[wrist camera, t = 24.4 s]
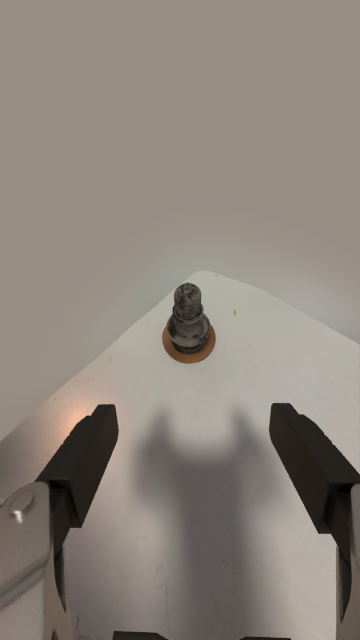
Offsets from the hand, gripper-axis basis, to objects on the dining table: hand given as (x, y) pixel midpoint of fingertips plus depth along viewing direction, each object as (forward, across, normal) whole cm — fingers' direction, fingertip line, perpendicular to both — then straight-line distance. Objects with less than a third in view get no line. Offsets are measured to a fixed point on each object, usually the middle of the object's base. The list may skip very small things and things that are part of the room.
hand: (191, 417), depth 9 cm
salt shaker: (+18, 0, +2) cm, 18 cm away
